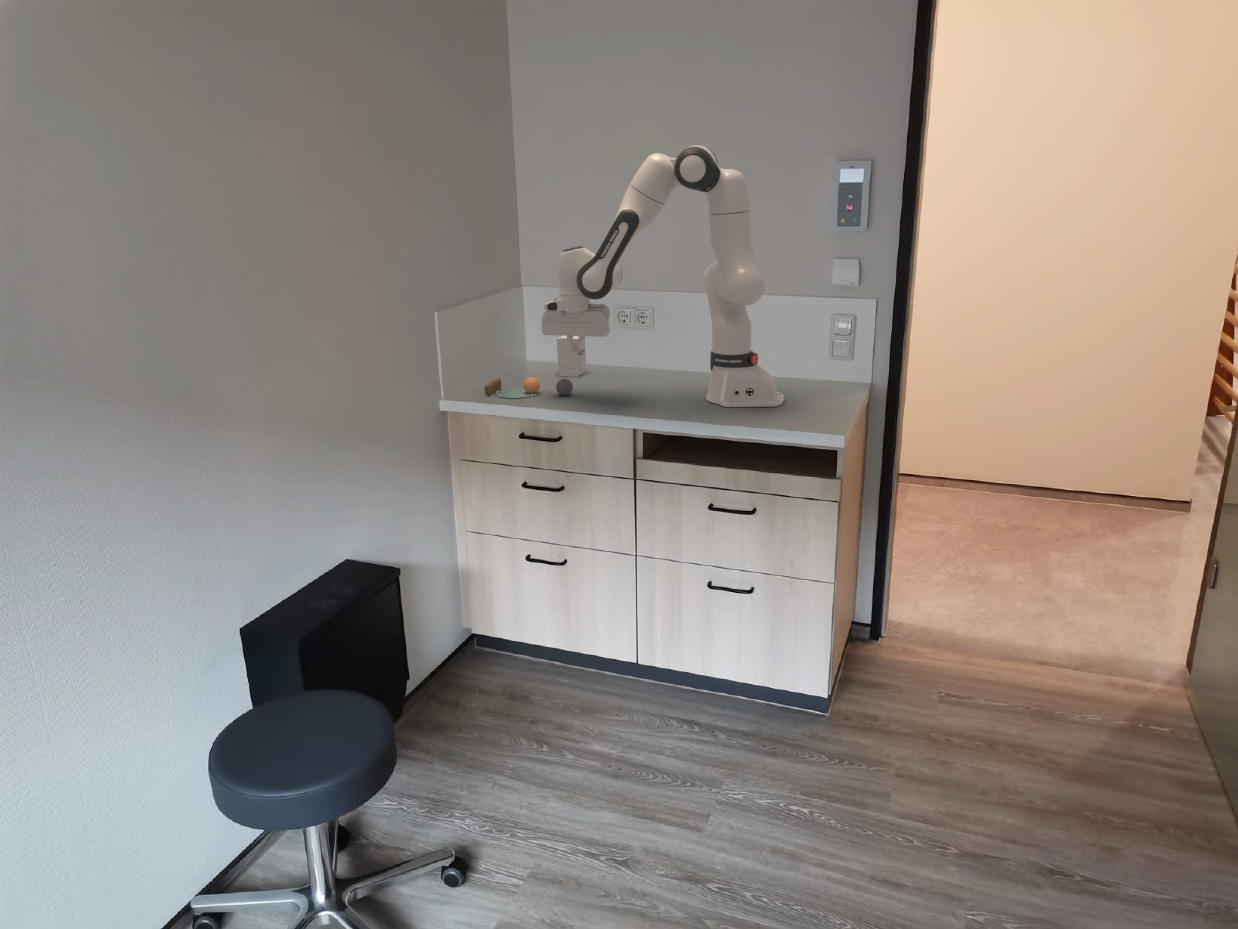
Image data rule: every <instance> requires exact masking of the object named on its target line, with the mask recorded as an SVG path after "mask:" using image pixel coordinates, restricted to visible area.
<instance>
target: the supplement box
mask: <svg viewBox="0 0 1238 929" xmlns="http://www.w3.org/2000/svg"><path fill="white" fill-rule="evenodd" d="M572 340H573V342H574V344H579V342H580V341H581V340H579V336H573V338H572ZM556 351H557V373H558V374H557V375H558V377H570V378H571V377H572V378H579V377H580V376H581V375H583V374H585V373H586V372H587V365H586V364H587V363H586V362H587V361H586V359H587V358H586V339H585V340H584V342H583V344H582V350H581V351H571V345H570V344H569V342H568V340H567V336H559V337H557V338H556Z"/></svg>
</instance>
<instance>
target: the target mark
mask: <svg viewBox="0 0 1238 929" xmlns="http://www.w3.org/2000/svg"><path fill="white" fill-rule="evenodd" d="M514 387H515V388H514ZM516 387H517V386H513V387H508V388H507V387H506V388H501V390H507V391H504V392H498V393H496V392H495V393H494V395H495V394H505V395H502V396H498V397H497V398H500V397H506V398H512V397H514V398H515V397H530V398H533V396H534V397H537V396H539V395H541V394H542V390H541V391H539V390H540V389H539V390H538V392H536V393H534V395H531V394H529V393H527V392H526V391H521V392H520V391H512V390H524V386H518V387H519V388H516ZM520 387H521V388H520ZM540 393H541V394H540ZM515 394H518V395H515ZM519 394H520V395H519ZM521 394H527V395H521ZM528 394H529V395H528ZM535 394H536V395H537V396H536V395H535ZM538 394H539V395H538ZM506 398H505V399H506Z"/></svg>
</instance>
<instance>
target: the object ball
mask: <svg viewBox="0 0 1238 929" xmlns="http://www.w3.org/2000/svg"><path fill="white" fill-rule="evenodd" d="M522 387H524V390H525V391H526V392H527V393H529V394H534V393H536V392H538V390H541V389H540V388H541V384H540V381H539V379H537V378H536V377H533V376H532V377H531V376H530V377H528V378H527V379H525V380H524V382H523V386H522Z"/></svg>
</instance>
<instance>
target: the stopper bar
mask: <svg viewBox="0 0 1238 929" xmlns="http://www.w3.org/2000/svg"><path fill="white" fill-rule="evenodd" d="M500 388H501V389H502V379H501V378H495V379H493V380H492V381H490V382H489V383H487V385H485V386H484V396H485V395H489V396H488V397H491V396H492V395H491V394H493V393H494V392H495V393H496V391H497V390H498V391H499V389H500ZM501 389H500V390H501ZM495 393H494V394H495ZM494 394H493V395H494ZM490 395H491V396H490Z"/></svg>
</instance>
